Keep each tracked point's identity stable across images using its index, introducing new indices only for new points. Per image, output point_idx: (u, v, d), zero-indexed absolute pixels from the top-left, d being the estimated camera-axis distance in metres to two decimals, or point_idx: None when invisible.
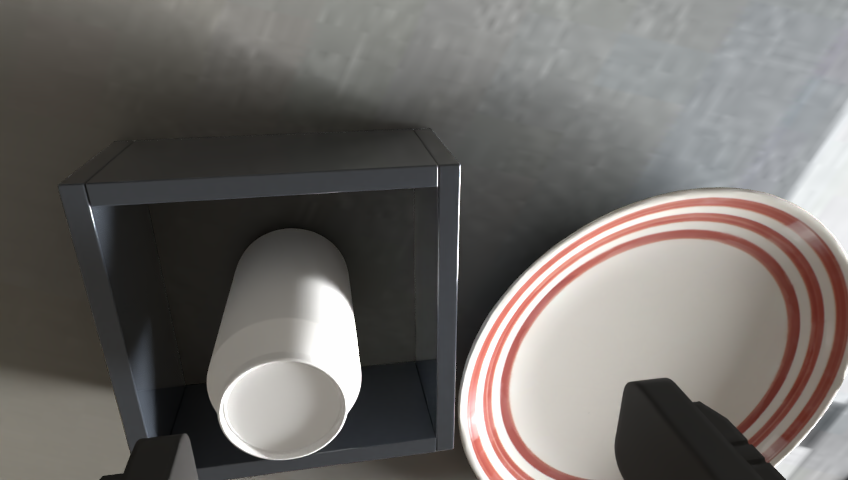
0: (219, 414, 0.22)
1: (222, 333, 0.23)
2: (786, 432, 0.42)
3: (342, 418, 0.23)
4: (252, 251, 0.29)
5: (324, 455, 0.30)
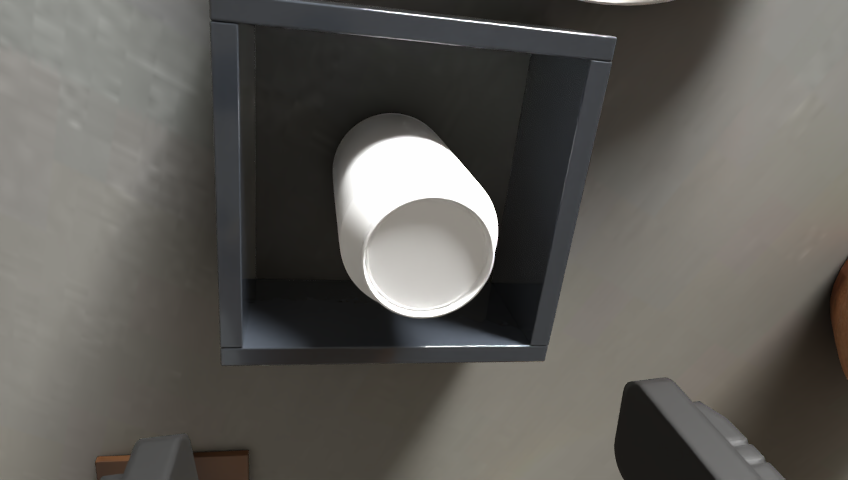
0: (416, 316, 0.21)
1: None
2: None
3: (456, 201, 0.20)
4: None
5: (566, 194, 0.26)
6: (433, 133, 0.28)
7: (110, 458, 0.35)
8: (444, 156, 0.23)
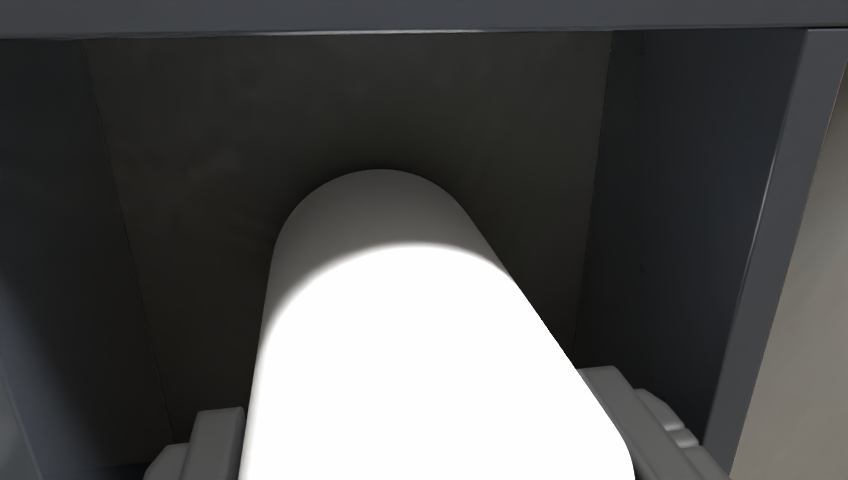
0: None
1: None
2: None
3: None
4: None
5: (742, 321, 0.12)
6: (447, 210, 0.14)
7: None
8: (481, 315, 0.09)
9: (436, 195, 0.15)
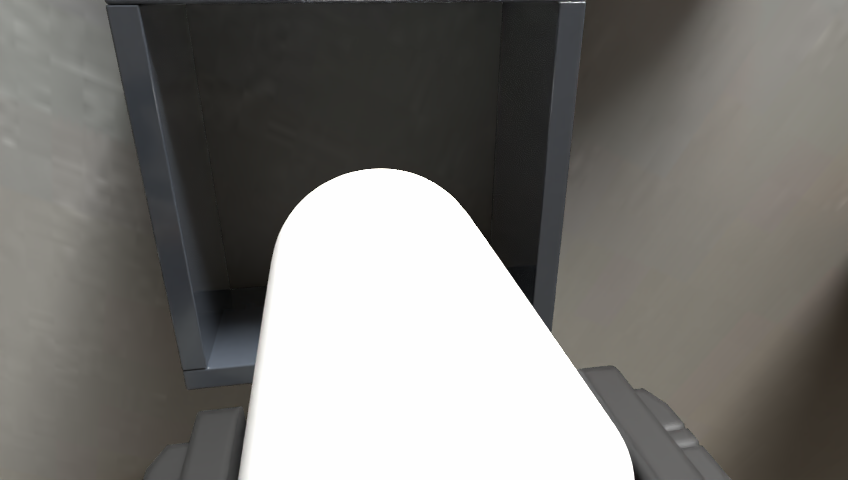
0: None
1: None
2: None
3: None
4: None
5: (551, 162, 0.23)
6: (447, 209, 0.14)
7: None
8: (481, 314, 0.09)
9: (436, 194, 0.15)
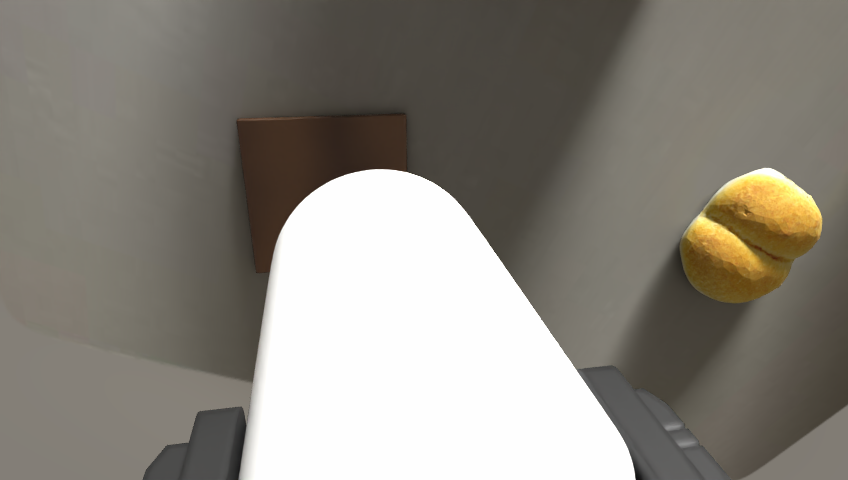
0: None
1: None
2: None
3: None
4: None
5: None
6: (448, 210, 0.14)
7: (253, 119, 0.30)
8: (482, 316, 0.09)
9: (436, 195, 0.15)
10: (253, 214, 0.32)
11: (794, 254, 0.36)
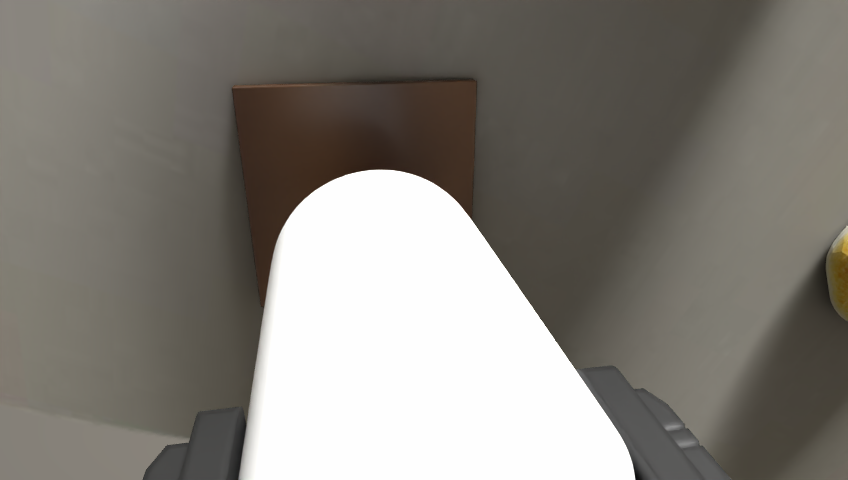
0: None
1: None
2: None
3: None
4: None
5: None
6: (448, 210, 0.14)
7: (256, 85, 0.21)
8: (481, 316, 0.09)
9: (436, 196, 0.15)
10: (256, 224, 0.23)
11: None
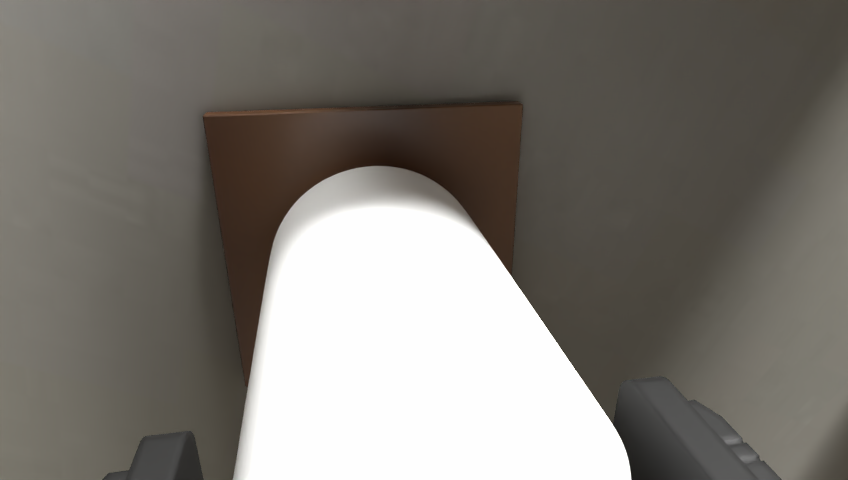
0: None
1: None
2: None
3: None
4: None
5: None
6: (445, 206, 0.14)
7: (236, 112, 0.16)
8: (477, 310, 0.09)
9: (434, 191, 0.15)
10: (238, 288, 0.18)
11: None
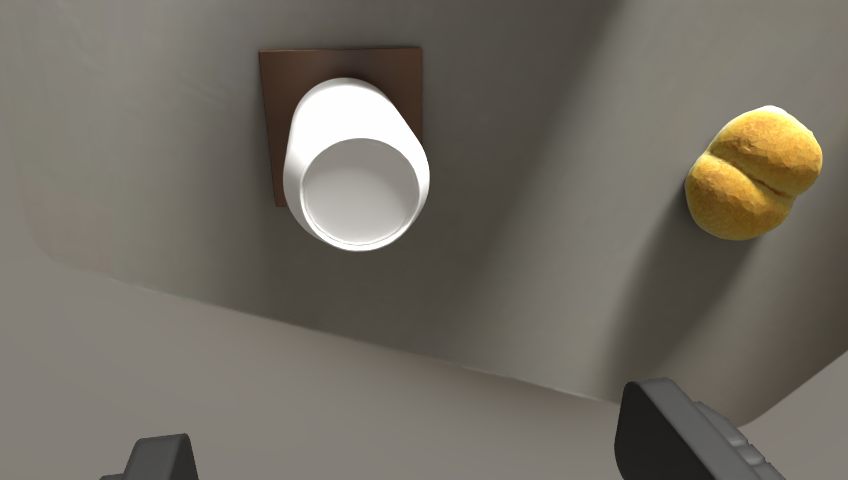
0: (358, 250, 0.24)
1: None
2: None
3: (377, 140, 0.22)
4: None
5: None
6: (375, 90, 0.30)
7: (274, 50, 0.31)
8: (372, 104, 0.25)
9: (371, 86, 0.31)
10: (273, 146, 0.33)
11: (795, 189, 0.38)
